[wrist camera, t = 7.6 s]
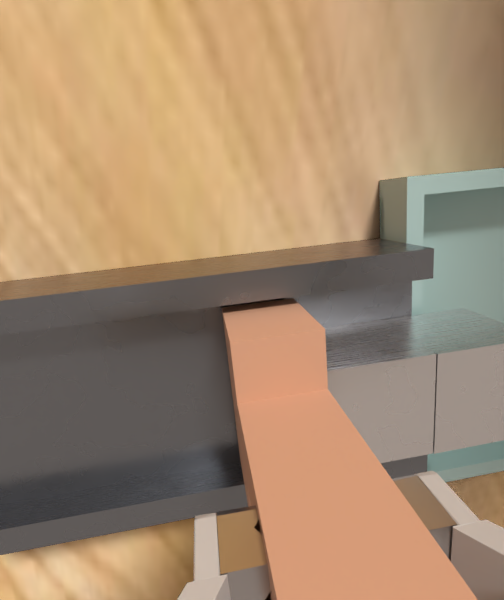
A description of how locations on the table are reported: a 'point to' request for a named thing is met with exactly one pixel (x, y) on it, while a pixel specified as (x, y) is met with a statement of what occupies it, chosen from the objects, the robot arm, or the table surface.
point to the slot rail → (156, 381)
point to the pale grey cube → (462, 375)
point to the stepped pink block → (320, 473)
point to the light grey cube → (383, 387)
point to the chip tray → (453, 266)
